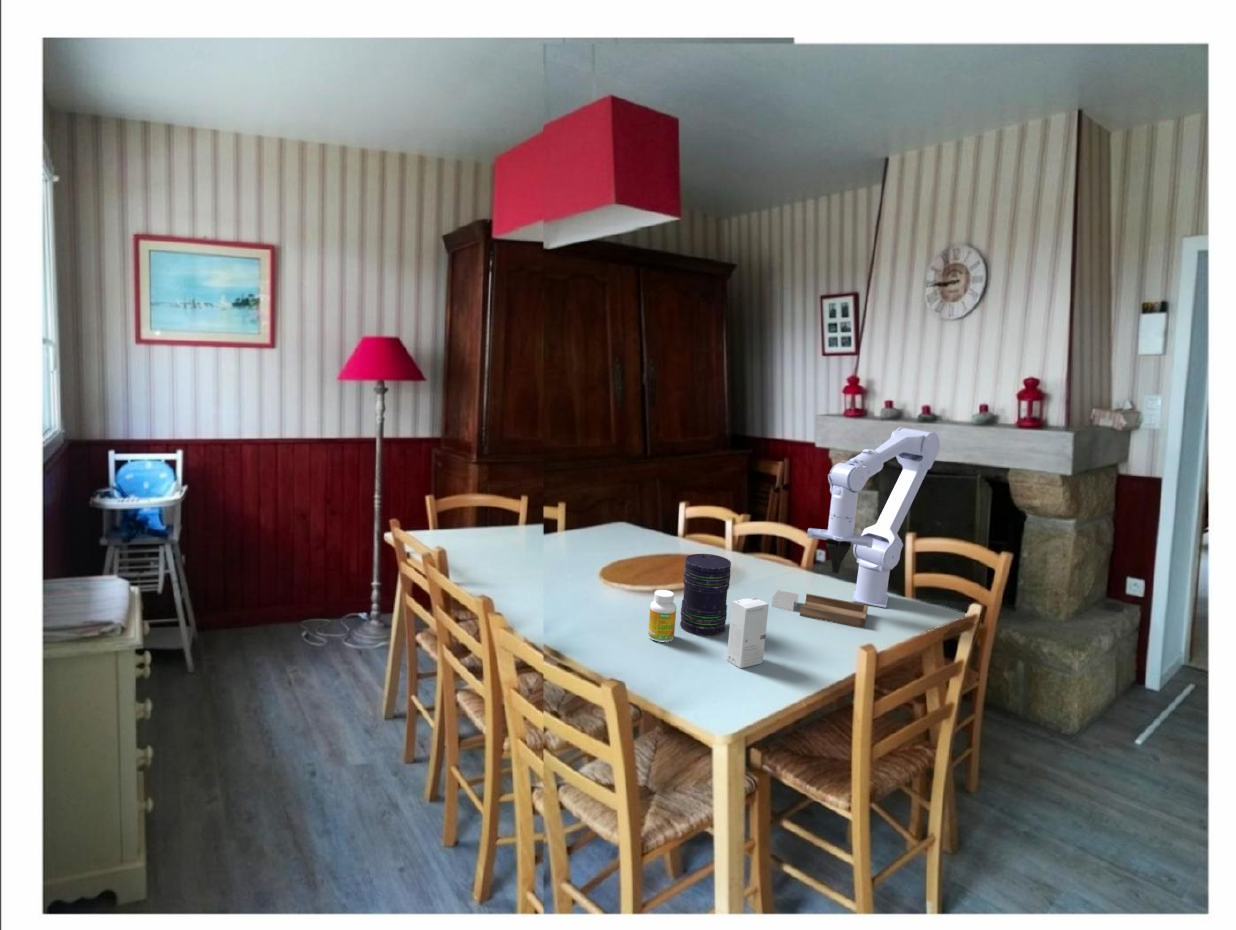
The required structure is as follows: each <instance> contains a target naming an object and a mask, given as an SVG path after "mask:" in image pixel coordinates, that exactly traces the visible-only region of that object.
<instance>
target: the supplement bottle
mask: <svg viewBox="0 0 1236 930" xmlns="http://www.w3.org/2000/svg"><path fill="white" fill-rule="evenodd" d="M653 598H654V599H653V601H651V603H650V607H649V614H648V615H649V617H648V629H647V630H648V631H647V635H648V634H649V636H650V637H651V638H652V639H654V640H656V641H664V642H666V643H670V642H672V641H673V640H674V638H675V630H676V629H675V628H676V617H677V605H676V603H675V602H674V600H675V593H674V592H673V591H671V590H667V589H657V590H655V591H654V596H653ZM669 641H670V642H669Z"/></svg>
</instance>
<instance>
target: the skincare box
mask: <svg viewBox="0 0 1236 930" xmlns="http://www.w3.org/2000/svg"><path fill="white" fill-rule="evenodd" d="M768 614H769V603H768V602H766V601H763V600H761V599H759V598H756V597H750V598H742V599H739V600H733V601H732V602H731V612H730V622H729V631H728V641H727V642H728V643H727V653H726V661H728V662H729V663H730V664H732V665H734V666H735V667H737V668H739V669H743V668H748V667H753V666H756V665H761V664H762V663H763V661H764V656H765V655H764V653H765V644H766V635H767V634H766V632H767V623H768Z"/></svg>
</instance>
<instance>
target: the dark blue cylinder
mask: <svg viewBox="0 0 1236 930" xmlns="http://www.w3.org/2000/svg"><path fill="white" fill-rule="evenodd" d="M684 562H685V564H684V570H683V587H684V588H683V599H682V601H681V607H680V619H681V620H680V622H679V626H681V627H680V629H682V630H683V631H684V632H687V633H688V634H691V635H695V636H700V637H716V636H719V635H722V634H723V633H725V631H726V625H725V624H726V621H727V617H728V613H727V610H728V604H727V598H728V590H729V588H730V581H731V567H732V562H731V560H730V559H728V558H726V557H724V556H721V555H718V554H717V555H716V554H710V553H693V554H690V555H687V556H686V557H685V561H684Z"/></svg>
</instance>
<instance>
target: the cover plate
mask: <svg viewBox="0 0 1236 930" xmlns="http://www.w3.org/2000/svg"><path fill="white" fill-rule="evenodd" d="M799 595H800V594H799V593H794V592H788V591H783V590H777V591H775V593H774V595H773V596H772V598H771V599H772V600H771V607H772V608H778V609H782V610H786V611H792V612H794V610H795V608H796V607H795V606H797V605H798V603H799Z"/></svg>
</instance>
